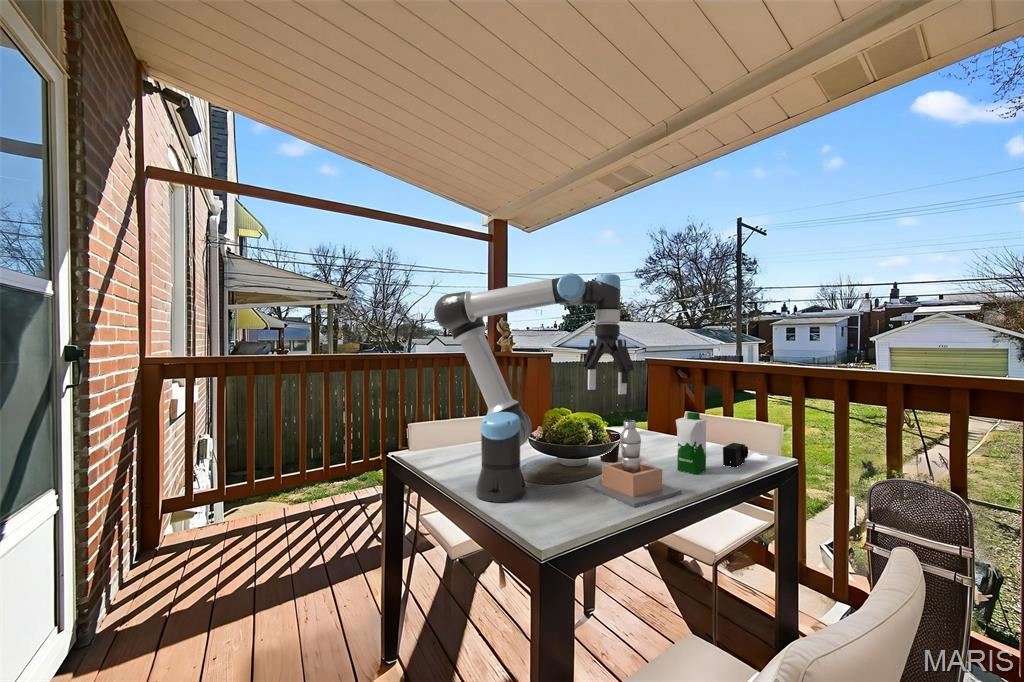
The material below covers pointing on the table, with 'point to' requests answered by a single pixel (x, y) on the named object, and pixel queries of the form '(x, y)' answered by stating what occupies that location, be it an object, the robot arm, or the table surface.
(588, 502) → the table surface
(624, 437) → the silver bottle
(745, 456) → the digital camera
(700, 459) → the milk carton
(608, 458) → the coffee mug
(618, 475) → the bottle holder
